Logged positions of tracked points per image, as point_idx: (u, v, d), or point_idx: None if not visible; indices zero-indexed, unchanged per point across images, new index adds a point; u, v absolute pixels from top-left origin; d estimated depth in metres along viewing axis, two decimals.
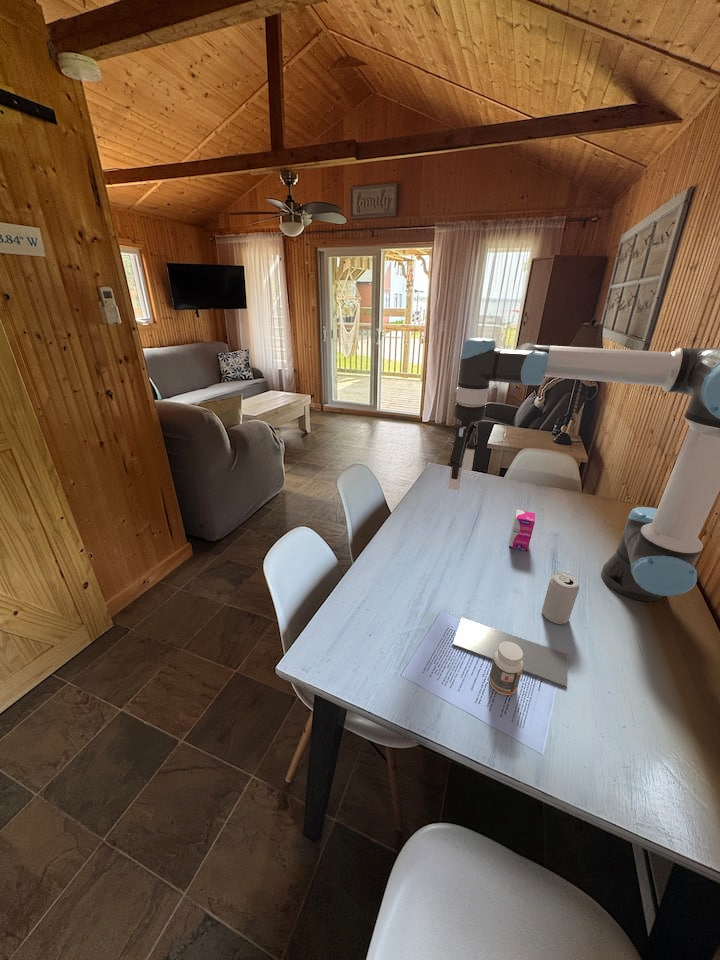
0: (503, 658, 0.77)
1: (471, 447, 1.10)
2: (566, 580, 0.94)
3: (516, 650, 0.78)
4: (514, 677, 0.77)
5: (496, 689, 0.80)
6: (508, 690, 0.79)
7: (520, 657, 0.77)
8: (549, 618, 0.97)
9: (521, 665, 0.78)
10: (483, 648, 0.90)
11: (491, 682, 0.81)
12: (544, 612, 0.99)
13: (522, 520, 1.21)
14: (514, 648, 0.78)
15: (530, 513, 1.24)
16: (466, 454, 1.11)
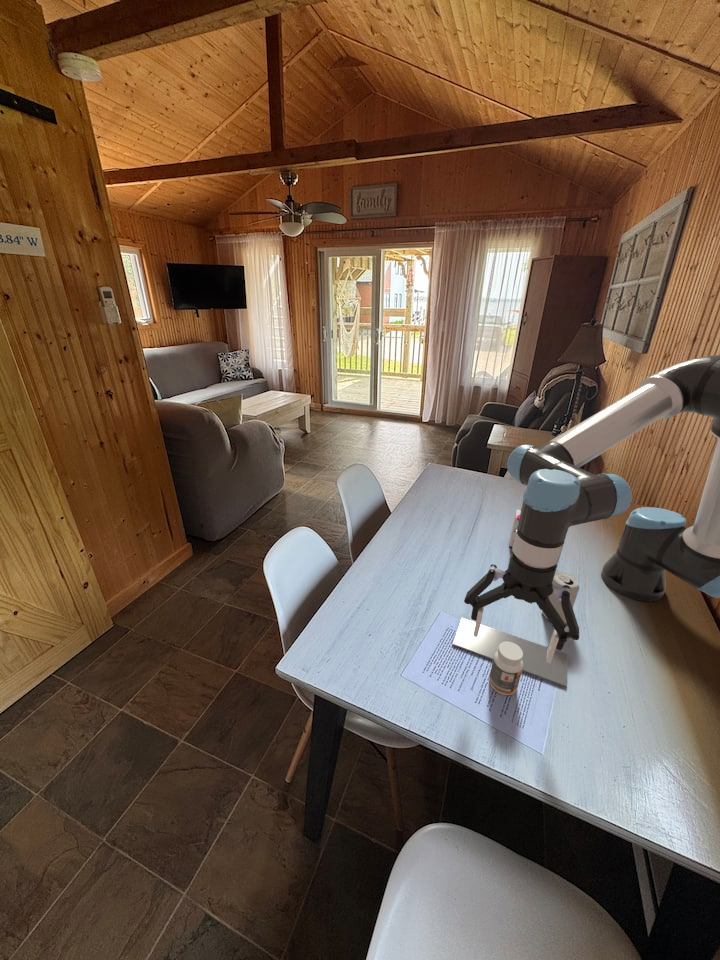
0: (503, 658, 0.77)
1: None
2: (566, 580, 0.94)
3: (515, 650, 0.78)
4: (514, 677, 0.77)
5: (496, 689, 0.80)
6: (508, 690, 0.79)
7: (520, 657, 0.77)
8: None
9: (521, 665, 0.78)
10: (483, 648, 0.90)
11: (491, 682, 0.81)
12: None
13: None
14: (514, 648, 0.78)
15: None
16: (552, 636, 0.73)
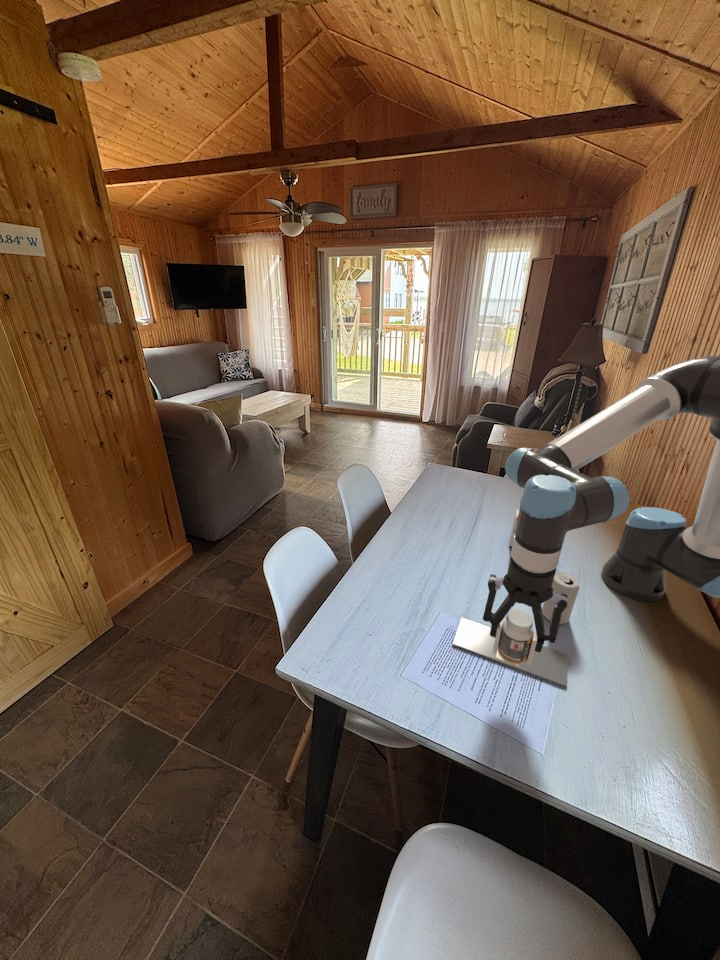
0: (512, 625, 0.73)
1: None
2: (566, 580, 0.94)
3: (525, 618, 0.74)
4: (524, 645, 0.74)
5: (505, 659, 0.77)
6: (517, 660, 0.75)
7: (530, 624, 0.73)
8: (549, 618, 0.97)
9: (531, 633, 0.74)
10: (483, 648, 0.90)
11: (500, 652, 0.78)
12: (544, 612, 0.99)
13: None
14: (523, 615, 0.75)
15: None
16: None
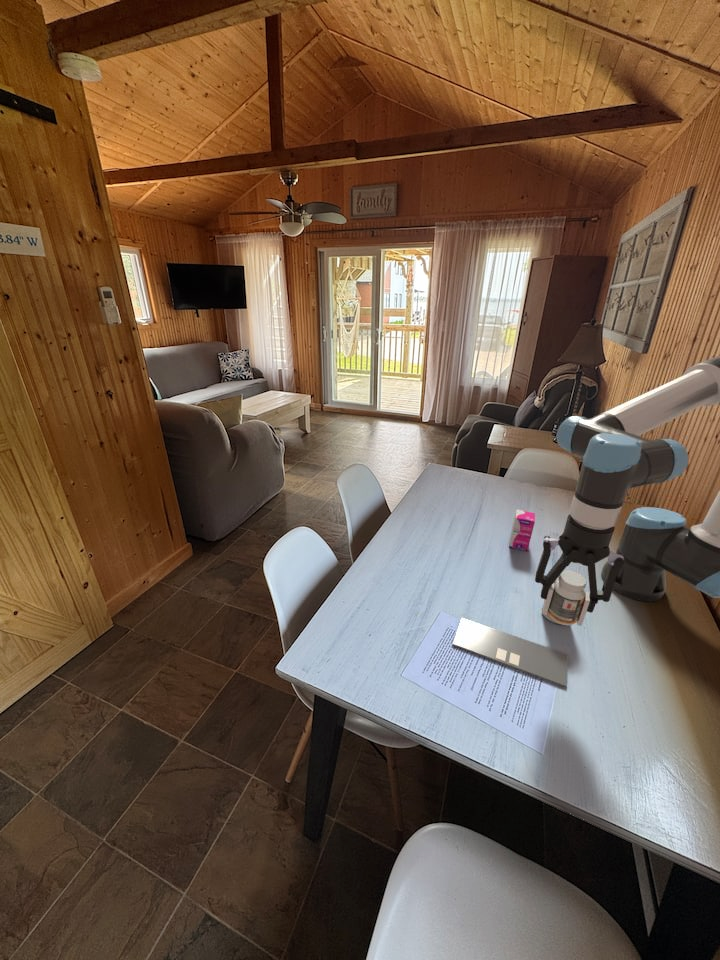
0: (566, 585, 0.75)
1: (590, 595, 0.76)
2: None
3: (578, 578, 0.76)
4: (577, 605, 0.76)
5: (556, 619, 0.79)
6: (569, 620, 0.77)
7: (584, 584, 0.75)
8: (549, 618, 0.97)
9: (584, 593, 0.76)
10: (483, 648, 0.90)
11: (550, 613, 0.80)
12: None
13: (522, 520, 1.21)
14: (576, 576, 0.77)
15: (530, 513, 1.24)
16: None
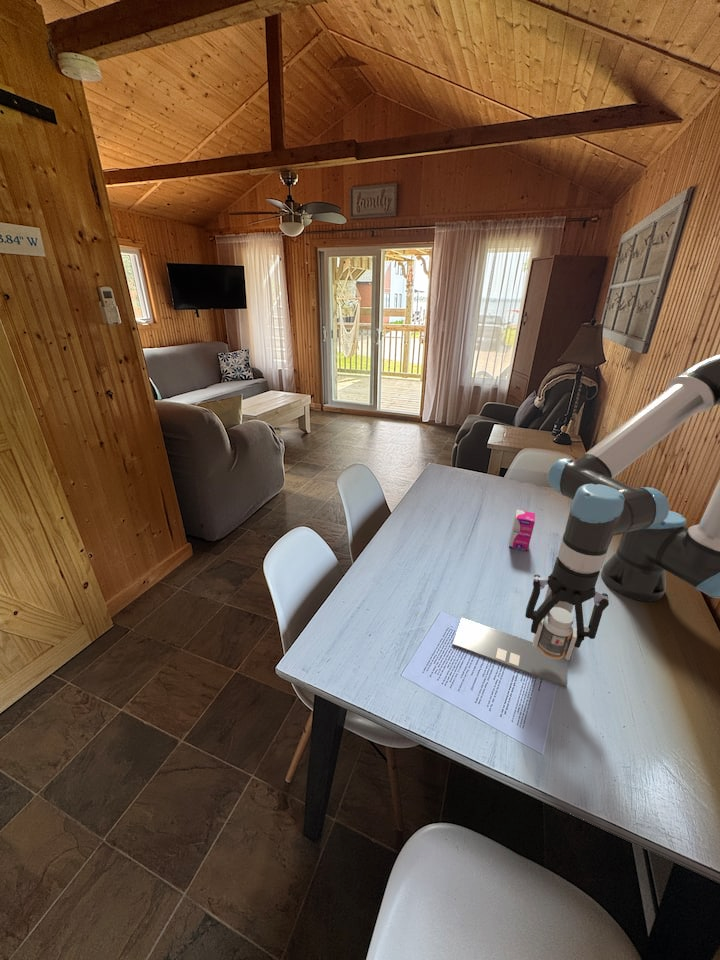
0: (554, 622, 0.79)
1: (577, 631, 0.80)
2: None
3: (566, 615, 0.80)
4: (565, 641, 0.80)
5: (545, 653, 0.83)
6: (557, 654, 0.81)
7: (571, 621, 0.79)
8: None
9: (571, 629, 0.80)
10: (483, 648, 0.90)
11: (540, 647, 0.84)
12: None
13: (522, 520, 1.21)
14: (564, 613, 0.81)
15: (530, 513, 1.24)
16: None
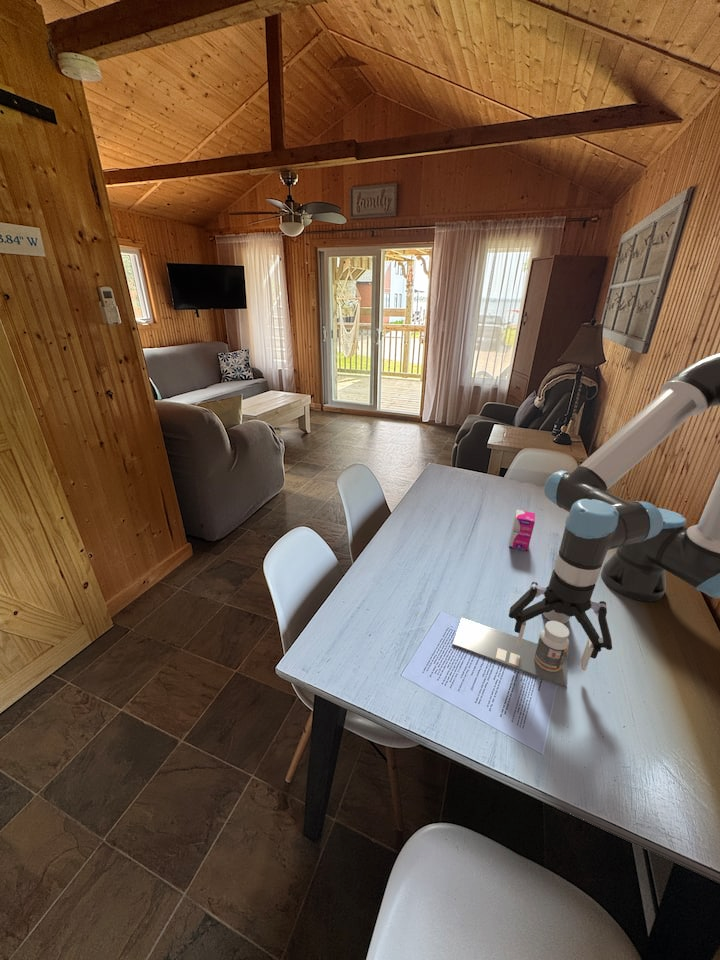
0: (551, 636, 0.81)
1: None
2: None
3: (562, 629, 0.82)
4: (561, 654, 0.82)
5: (542, 666, 0.84)
6: (554, 667, 0.83)
7: (567, 635, 0.81)
8: (549, 618, 0.97)
9: (567, 642, 0.82)
10: (483, 648, 0.90)
11: (537, 660, 0.85)
12: None
13: (522, 520, 1.21)
14: (560, 626, 0.83)
15: (530, 513, 1.24)
16: (586, 645, 0.81)
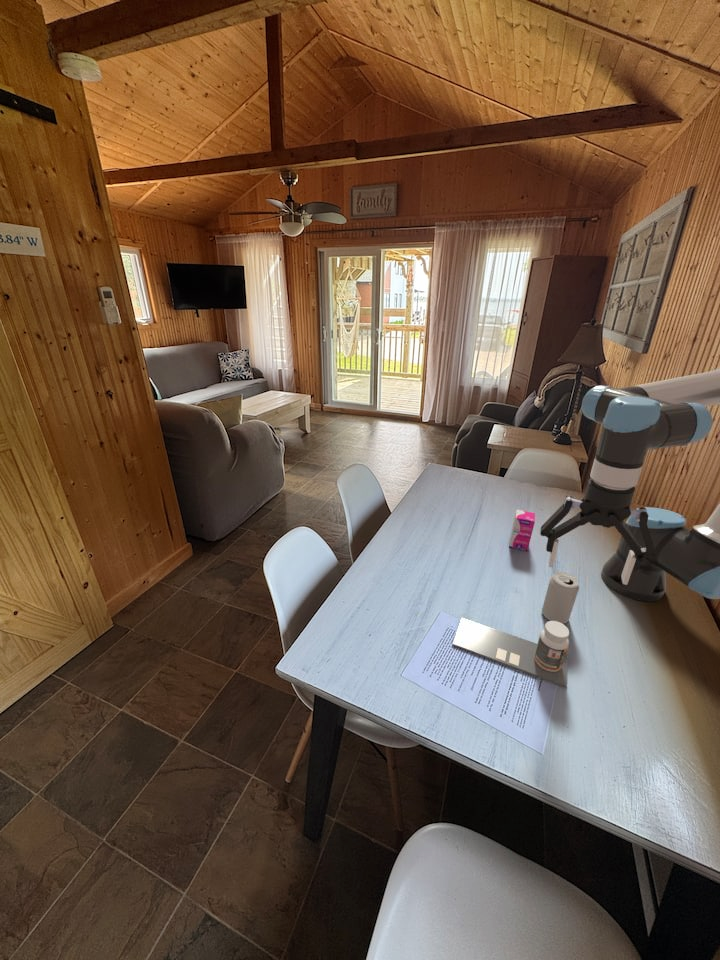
0: (550, 636, 0.81)
1: None
2: (566, 580, 0.94)
3: (562, 629, 0.82)
4: (561, 654, 0.82)
5: (542, 666, 0.84)
6: (554, 667, 0.83)
7: (567, 635, 0.81)
8: (549, 618, 0.97)
9: (567, 642, 0.82)
10: (483, 648, 0.90)
11: (537, 660, 0.85)
12: (544, 612, 0.99)
13: (522, 520, 1.21)
14: (560, 626, 0.83)
15: (530, 513, 1.24)
16: (628, 558, 0.78)
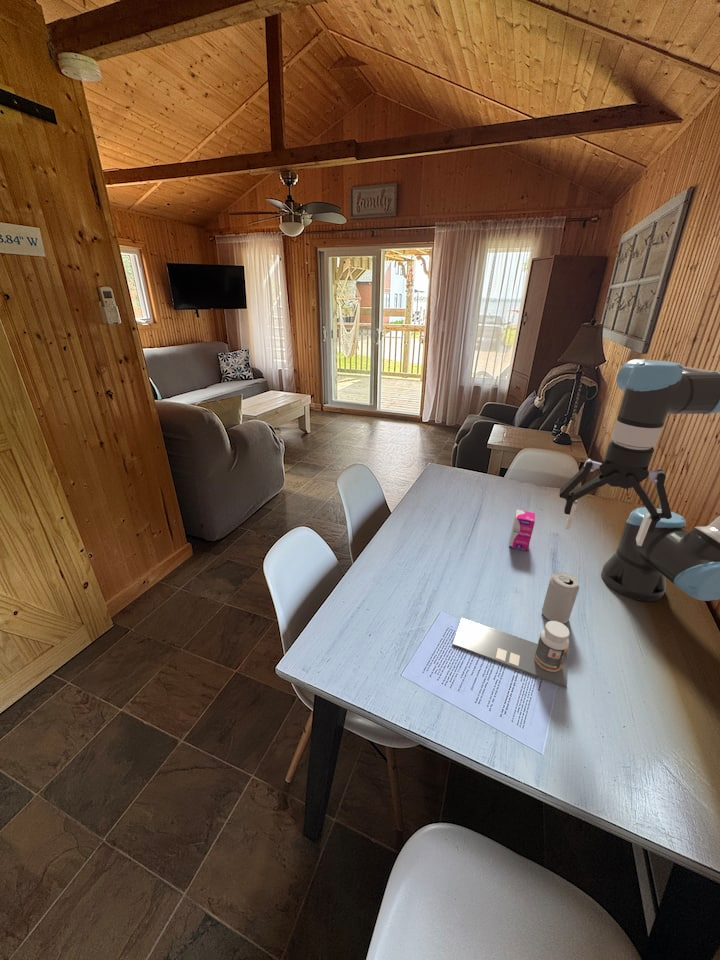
0: (551, 636, 0.81)
1: None
2: (566, 580, 0.94)
3: (562, 629, 0.82)
4: (561, 654, 0.82)
5: (542, 666, 0.84)
6: (554, 667, 0.83)
7: (567, 635, 0.81)
8: (549, 618, 0.97)
9: (567, 643, 0.82)
10: (483, 648, 0.90)
11: (537, 660, 0.85)
12: (544, 612, 0.99)
13: (522, 520, 1.21)
14: (560, 626, 0.83)
15: (530, 513, 1.24)
16: (643, 521, 0.81)
